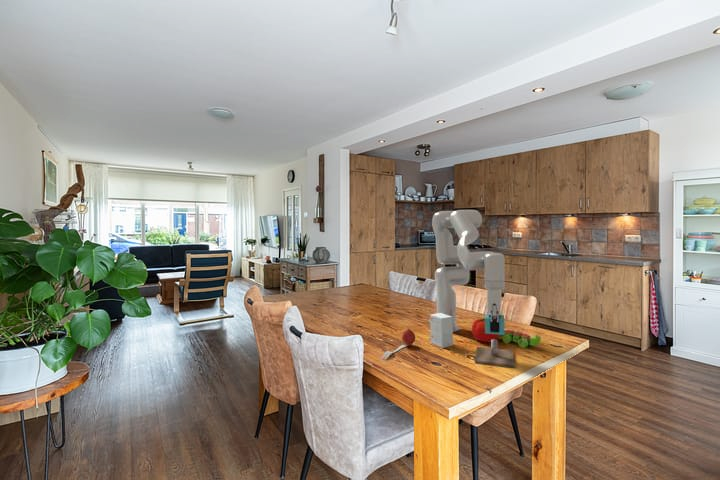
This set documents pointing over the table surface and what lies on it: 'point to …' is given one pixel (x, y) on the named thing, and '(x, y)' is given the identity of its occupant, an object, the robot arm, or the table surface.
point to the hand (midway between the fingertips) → (494, 328)
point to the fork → (392, 352)
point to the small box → (441, 330)
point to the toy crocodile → (520, 338)
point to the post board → (494, 356)
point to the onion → (408, 337)
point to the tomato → (482, 331)
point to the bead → (501, 324)
